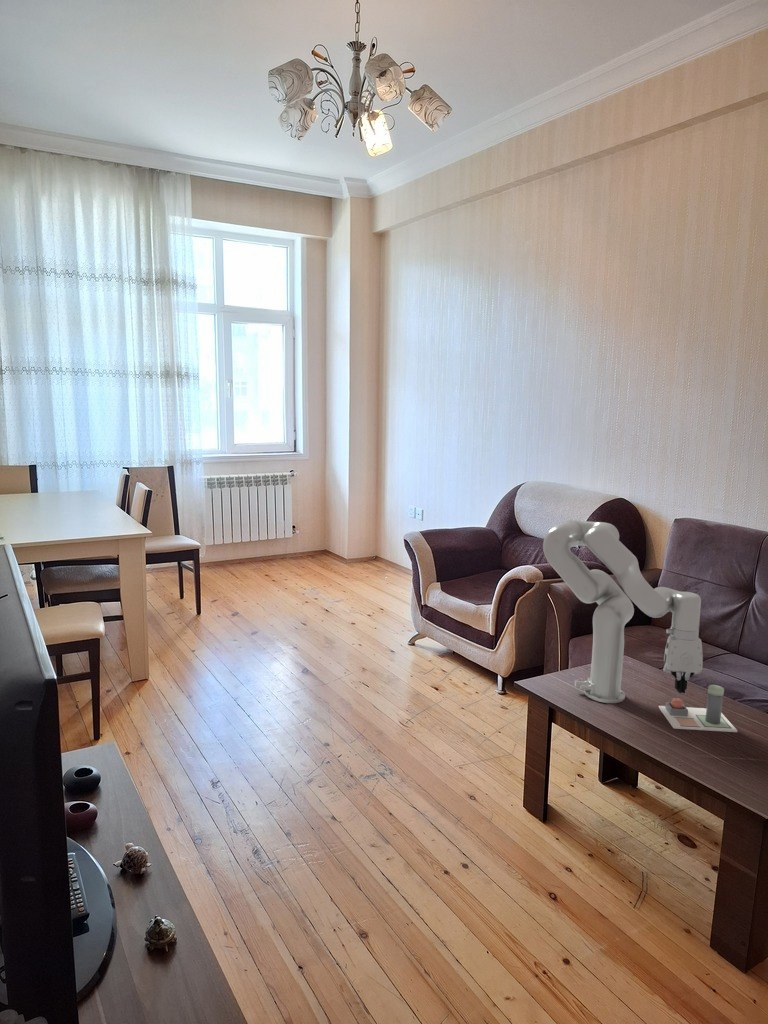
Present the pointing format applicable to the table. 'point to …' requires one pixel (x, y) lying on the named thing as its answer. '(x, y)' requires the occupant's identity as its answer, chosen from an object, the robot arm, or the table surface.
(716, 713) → the cylinder
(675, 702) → the button
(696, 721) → the picture board
